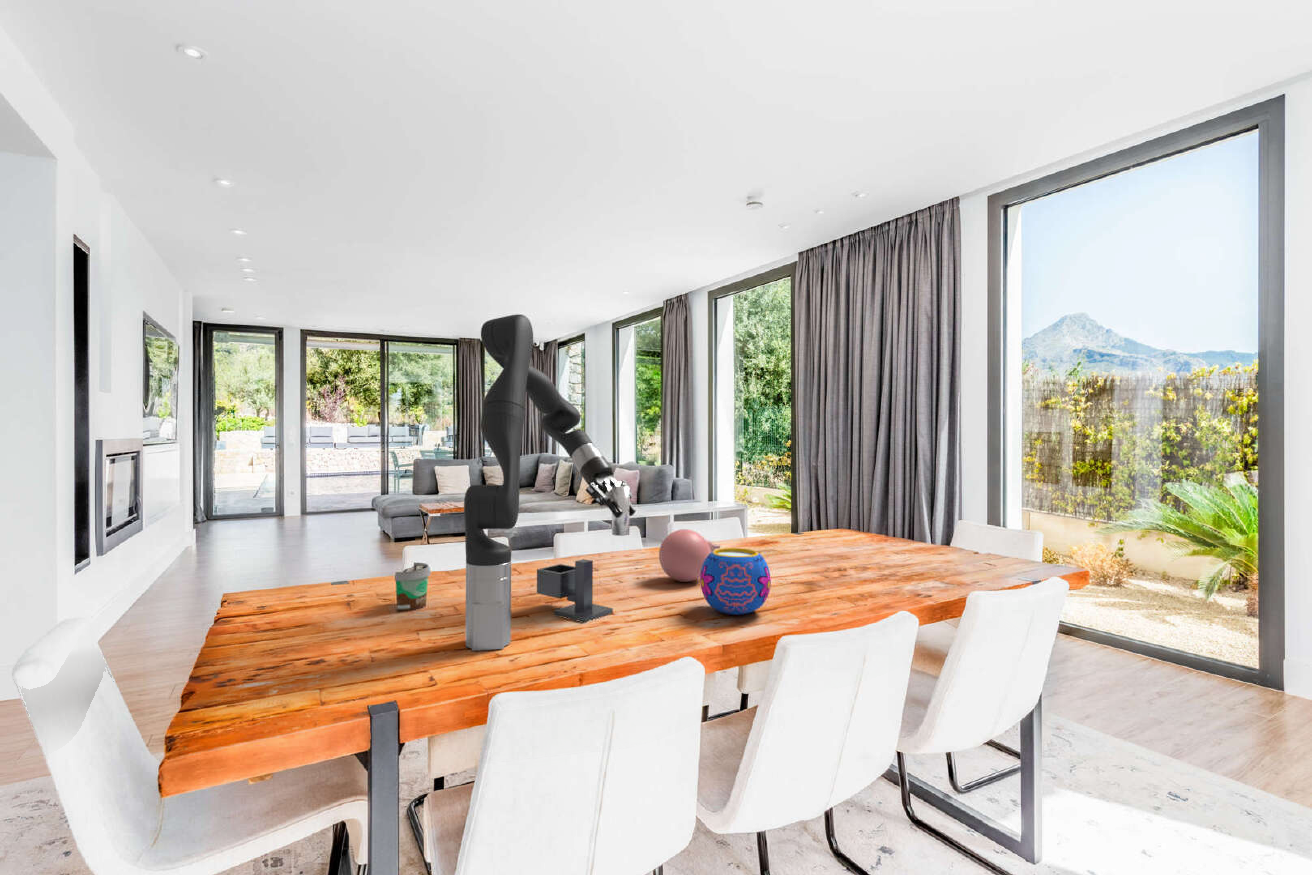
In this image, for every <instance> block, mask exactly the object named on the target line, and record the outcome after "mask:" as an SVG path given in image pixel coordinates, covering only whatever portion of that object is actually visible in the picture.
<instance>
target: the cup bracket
mask: <svg viewBox="0 0 1312 875" xmlns="http://www.w3.org/2000/svg"><path fill="white" fill-rule="evenodd" d="M574 563H575V565H574V566H573V565H568V564H563V563H559V564H555V565H550V566H546V567H541V568H538V569H536V594H538V595H542V596H547V597H552V598H555V599H559V600H560V599H564V598H566V601H568V602H571V603H572V602H573V603H574V604H570V605H566V606H563V607H560V608H557V609H554V612H553V614H554V616H555V615H556V617H559V616H563V617H566V618H565V619H567V618H570V619H569V620H571V619H573V620H572V621H575V620H579V621H582V622H581V623H583V622H586V623H588V622H587V621H589V620H592V621H594V620H593V619H595V620H597V619H600V618H602V617H601V616H603V617H606V616H608V615H611V614H613V613H614V610H613V609H614V608H613V607H609V606H604V605H599V604H596V603H593V601H594V600H593V586H594V584H593V581H594V580H593V574H594V573H593V572H594V570H593V569H594V561H593V560H590V559H584V558H583V559H579V560H576V561H574ZM563 617H562V618H563ZM599 617H600V618H599ZM596 618H597V619H596ZM579 621H578V622H579ZM589 622H590V621H589Z"/></svg>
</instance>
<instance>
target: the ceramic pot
mask: <svg viewBox="0 0 1312 875" xmlns="http://www.w3.org/2000/svg"><path fill="white" fill-rule="evenodd" d="M699 584H700V585H699V586H700V589H701V593H702V595H703V597H704V599H705V600H706V603H707V605H709V606H711V607H712V608H713V609H715V610H716V611H719V612H721V613H724V614H727V615H731V616H732V615H734V616H739V615H745V614H746V615H747V614H749V613H752V612H755V611H757V610H758V609H760V608H761V607H763V605H764V604H765V602H766V601H767V598H768V597H769V595H770V592H771V588H772V587H771V584H772V579H771V573H770V569H769V565H768V563H767V562H766V559H765V558H764V557H763V556H762V555H761V554H760V553H759V552H758V551H756V550H753V549H748V548H742V547H740V548H739V547H724V548H719V549H715V550H714V551H713V552H711V553H710V554H709V555H708V556H707V558H706V559H705V561H704V563H703V565H702V569H701V574H700V577H699Z"/></svg>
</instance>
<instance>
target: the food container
mask: <svg viewBox="0 0 1312 875" xmlns="http://www.w3.org/2000/svg"><path fill="white" fill-rule="evenodd" d="M430 568H431V567H430V566H429V564H427V563H423V562H413V565H412V567H410V568H406V569H404V570H403V571H395V575H394V581H395V592H396V612H397V613H403V612H404V613H406V612H412V611H413V610H414V611H417V609H418V610H421V609H424V608H425V607H426V606H427V595H428V585H429V584H428V581H429V577H430V576H431V574H432V573H431V569H430ZM423 607H424V608H423ZM420 608H421V609H420Z"/></svg>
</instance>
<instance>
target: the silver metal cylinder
mask: <svg viewBox="0 0 1312 875" xmlns="http://www.w3.org/2000/svg"><path fill="white" fill-rule="evenodd" d="M630 491H631V487H630V486H629V485H628V486H612V492H613V493H612V496H613V498H614V502H615V501H616V503H617V504H618V506H619V507H620V509H621V510H622V511H623V514H622V515H621V516H620V517H619V518H616V517H615V516H614V515H613V513H612V512H611V535H612V536H621V537H622V536H629V535H630V517H631V516H630V502H631V501H630V500H631V499H630Z"/></svg>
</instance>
